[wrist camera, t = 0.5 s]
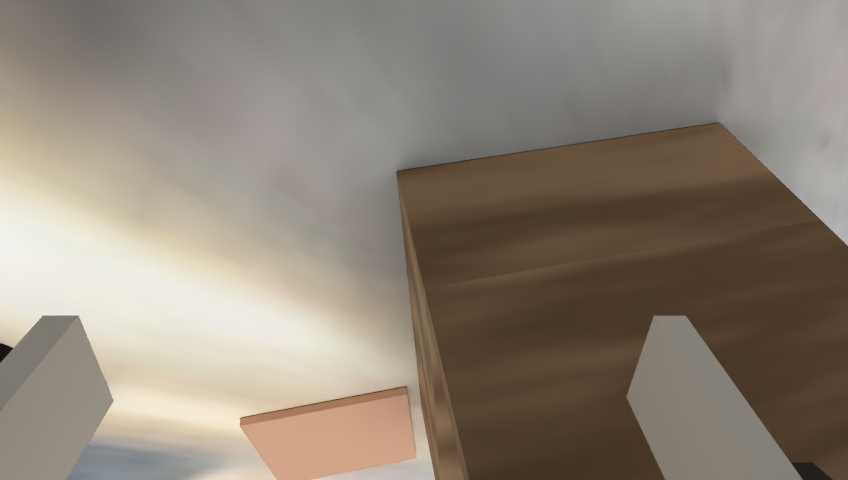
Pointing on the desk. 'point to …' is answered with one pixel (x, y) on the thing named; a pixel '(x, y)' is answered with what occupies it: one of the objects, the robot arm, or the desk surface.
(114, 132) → the desk surface
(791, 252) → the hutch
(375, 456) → the terracotta tile
